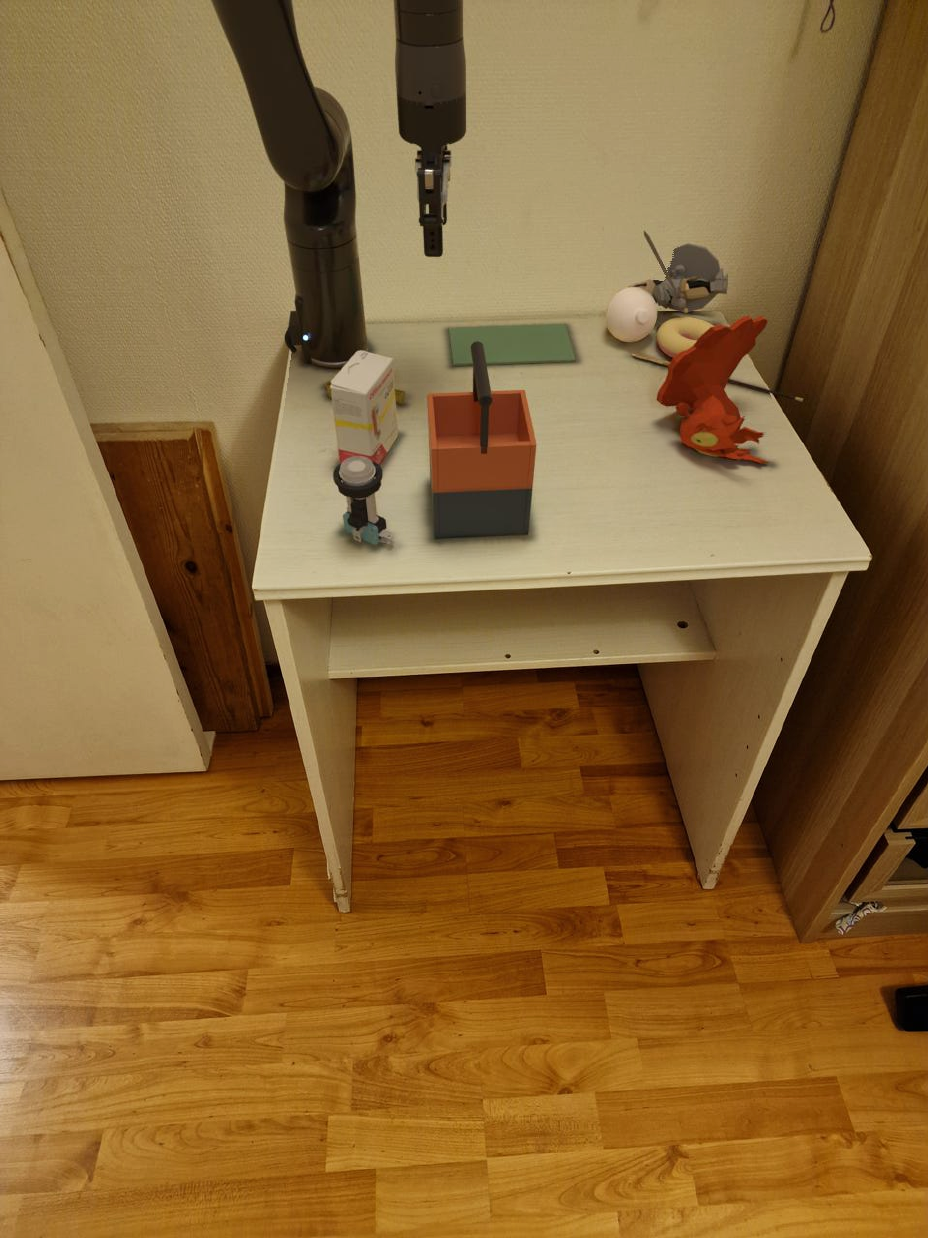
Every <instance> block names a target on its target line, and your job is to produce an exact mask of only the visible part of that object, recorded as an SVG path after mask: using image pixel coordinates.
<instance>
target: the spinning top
mask: <svg viewBox="0 0 928 1238" xmlns="http://www.w3.org/2000/svg"><path fill="white" fill-rule="evenodd" d="M657 319H658V304H656V302H655V300H654V298H653V297H652V295H651V294H650V293H649V292H647V291H646V290H644V289H642V288H638V287H630V288H628V287H626V288H623V289H621V290H619V291H618V292H617V293H615V294H614V295H613V296H612V298H611V299H610V301H608V304H607V306H606V309H605V324H606V327H607V329H608V331H609V332H610V334H611V335H612V336H613V337H614V338H615V339H617V340H619V341H621V342H624V343H635V342H639V341H641V340H643V339H644V338H646V337H647V336H648V335H649V334H650V333H651V332H652V330H653V329H654V327H655V325H656V323H657Z"/></svg>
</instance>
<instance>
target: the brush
mask: <svg viewBox="0 0 928 1238" xmlns="http://www.w3.org/2000/svg"><path fill="white" fill-rule="evenodd" d="M631 355H632V356H635V357H636V358H639V359H642V360H646V361H650V362H654V363H657V364H660V365H663V366H665V367H669V365H670V363H671V361H669V360H662V359H658V358H654V357H650V356H648V355H644V354H640V353H631ZM727 383H731V384H732V383H733V384H736V385H739V386H743V387H747V388H751V389H755V390H758V391H761V392H765V393H768V394H772V395H776V396H780V397H784V398H787V399H791V400H794V401H797V402H801V403H803V401H804V398H803V397H798V396H794V395H790V394H786V393H782V392H779V391H775V390H772V389H767V388H764V387H760V386H757V385H754V384H750V383H746V382H741V381H738V380H734V379H730V378H729V380H728V382H727Z"/></svg>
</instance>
